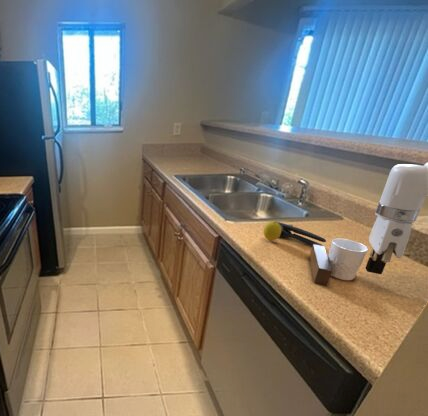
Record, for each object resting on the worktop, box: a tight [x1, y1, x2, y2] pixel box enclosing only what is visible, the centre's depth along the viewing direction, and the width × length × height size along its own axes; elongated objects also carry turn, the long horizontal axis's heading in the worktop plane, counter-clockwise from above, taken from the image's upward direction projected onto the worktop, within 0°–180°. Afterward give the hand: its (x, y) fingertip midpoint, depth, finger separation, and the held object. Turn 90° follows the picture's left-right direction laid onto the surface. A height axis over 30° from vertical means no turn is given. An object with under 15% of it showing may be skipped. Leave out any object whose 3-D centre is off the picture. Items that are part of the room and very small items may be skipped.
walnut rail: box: [308, 244, 332, 287], centre depth 84 cm, size 3×16×5 cm, turn 149°
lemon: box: [263, 220, 281, 242], centre depth 101 cm, size 6×6×8 cm
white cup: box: [327, 238, 369, 281], centre depth 81 cm, size 8×8×10 cm
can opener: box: [276, 221, 327, 246], centre depth 102 cm, size 18×7×6 cm, turn 39°
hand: (373, 271), depth 78 cm, fingers closed
